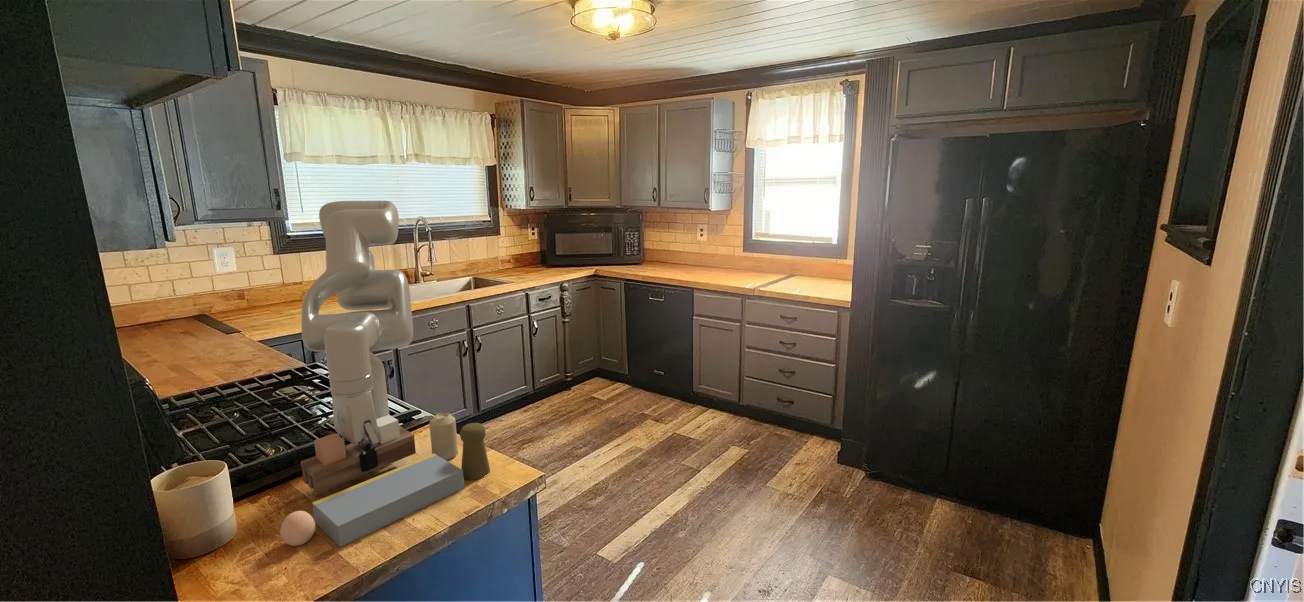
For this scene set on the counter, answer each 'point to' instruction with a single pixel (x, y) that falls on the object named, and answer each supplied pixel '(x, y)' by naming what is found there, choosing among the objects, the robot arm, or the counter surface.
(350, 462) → the brown wooden bar
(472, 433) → the olive pepper mill
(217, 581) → the counter surface
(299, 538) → the egg
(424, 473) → the block
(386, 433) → the white cube
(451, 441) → the candle
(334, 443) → the salmon pink cube
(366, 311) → the robot arm
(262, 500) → the counter surface
